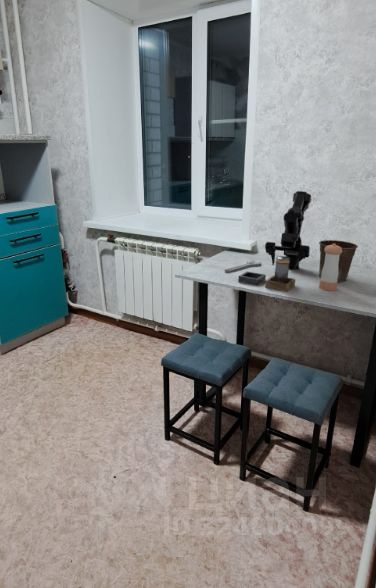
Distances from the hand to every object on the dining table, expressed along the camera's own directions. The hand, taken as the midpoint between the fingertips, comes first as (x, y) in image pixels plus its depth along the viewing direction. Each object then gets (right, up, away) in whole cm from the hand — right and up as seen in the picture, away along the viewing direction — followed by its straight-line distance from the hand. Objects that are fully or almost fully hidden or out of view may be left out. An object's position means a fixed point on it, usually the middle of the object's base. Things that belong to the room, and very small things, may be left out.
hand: (283, 266), depth 171 cm
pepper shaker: (+18, -10, -2) cm, 21 cm away
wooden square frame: (-2, -9, -1) cm, 9 cm away
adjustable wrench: (-14, +1, +26) cm, 30 cm away
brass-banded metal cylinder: (-2, -9, -1) cm, 9 cm away
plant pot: (+25, -5, +12) cm, 28 cm away
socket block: (-13, -6, +6) cm, 15 cm away
